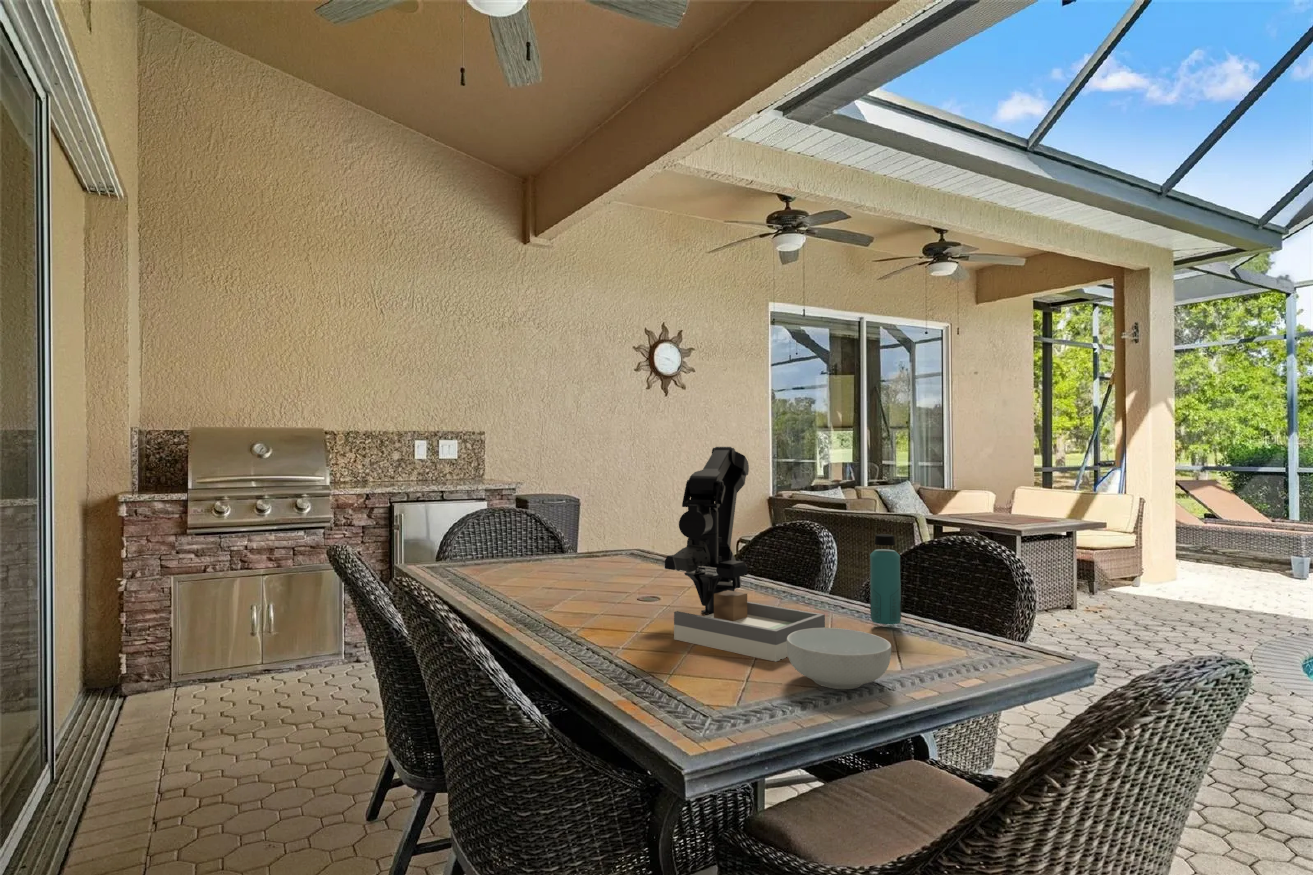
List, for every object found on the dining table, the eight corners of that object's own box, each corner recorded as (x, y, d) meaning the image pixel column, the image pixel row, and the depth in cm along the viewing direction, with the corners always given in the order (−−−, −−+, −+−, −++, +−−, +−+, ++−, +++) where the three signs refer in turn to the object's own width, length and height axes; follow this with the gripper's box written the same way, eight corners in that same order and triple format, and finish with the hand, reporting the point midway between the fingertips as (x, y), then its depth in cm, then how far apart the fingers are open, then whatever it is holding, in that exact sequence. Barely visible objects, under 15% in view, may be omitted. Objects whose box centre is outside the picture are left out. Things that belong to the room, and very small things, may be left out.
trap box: (674, 639, 154) (674, 611, 154) (726, 623, 168) (726, 598, 168) (775, 661, 139) (775, 631, 139) (824, 642, 152) (824, 614, 152)
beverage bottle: (905, 631, 161) (905, 536, 161) (873, 631, 161) (873, 536, 161) (896, 624, 167) (896, 532, 167) (865, 624, 167) (865, 532, 167)
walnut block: (713, 617, 160) (713, 593, 160) (727, 613, 164) (727, 590, 164) (733, 621, 157) (733, 596, 157) (747, 617, 161) (747, 593, 161)
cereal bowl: (815, 703, 117) (815, 657, 117) (770, 671, 133) (770, 630, 133) (912, 693, 121) (912, 648, 121) (857, 664, 137) (857, 624, 137)
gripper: (647, 533, 165) (647, 605, 165) (716, 540, 153) (717, 618, 153) (680, 528, 174) (680, 597, 173) (748, 535, 161) (749, 609, 161)
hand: (704, 605), depth 165 cm, fingers closed
